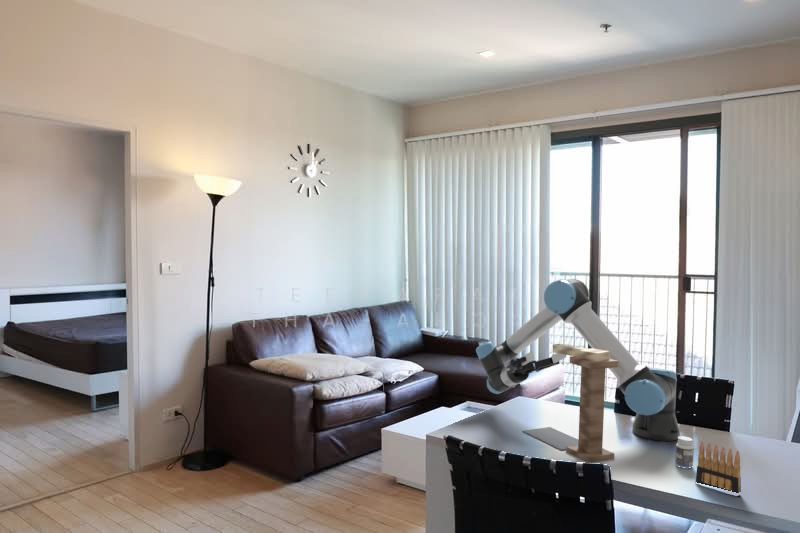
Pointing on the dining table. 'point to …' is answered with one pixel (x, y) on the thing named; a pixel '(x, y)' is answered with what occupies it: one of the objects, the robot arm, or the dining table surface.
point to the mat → (552, 437)
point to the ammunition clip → (719, 469)
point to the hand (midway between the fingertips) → (548, 354)
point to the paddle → (582, 352)
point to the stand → (591, 410)
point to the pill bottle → (684, 452)
